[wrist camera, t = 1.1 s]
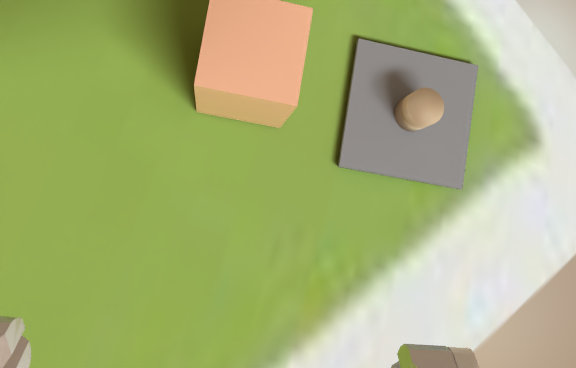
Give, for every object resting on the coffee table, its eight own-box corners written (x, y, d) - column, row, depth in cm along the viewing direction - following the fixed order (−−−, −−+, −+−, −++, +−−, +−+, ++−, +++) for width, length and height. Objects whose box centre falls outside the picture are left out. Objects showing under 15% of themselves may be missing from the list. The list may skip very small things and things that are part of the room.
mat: (337, 166, 41) (339, 166, 40) (356, 40, 42) (358, 38, 41) (459, 189, 42) (462, 188, 42) (475, 67, 43) (478, 65, 43)
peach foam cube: (196, 112, 39) (193, 85, 31) (211, 30, 40) (212, -15, 32) (279, 128, 40) (297, 106, 32) (292, 48, 41) (313, 8, 33)
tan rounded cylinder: (387, 111, 41) (400, 103, 38) (412, 89, 42) (427, 80, 39) (409, 138, 41) (425, 132, 38) (434, 116, 42) (451, 109, 39)
